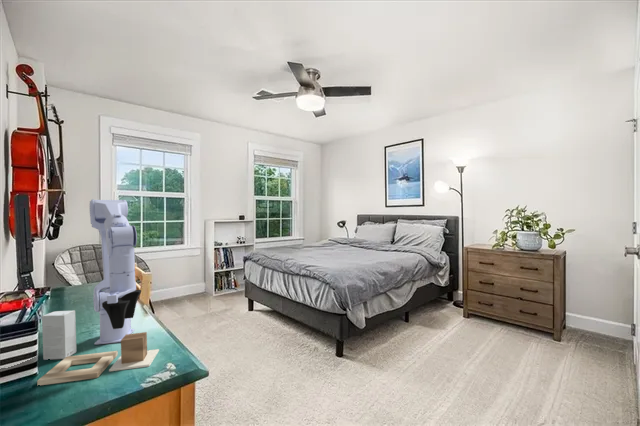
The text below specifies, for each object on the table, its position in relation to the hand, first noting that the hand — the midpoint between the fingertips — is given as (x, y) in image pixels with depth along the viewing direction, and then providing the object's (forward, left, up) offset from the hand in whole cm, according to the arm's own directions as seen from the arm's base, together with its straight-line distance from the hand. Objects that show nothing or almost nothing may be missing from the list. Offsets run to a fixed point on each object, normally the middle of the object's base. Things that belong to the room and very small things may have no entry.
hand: (123, 322), depth 81 cm
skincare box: (-8, -19, -10) cm, 23 cm away
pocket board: (+2, -9, -10) cm, 14 cm away
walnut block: (+1, +3, -10) cm, 10 cm away
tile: (+1, +3, -10) cm, 10 cm away
